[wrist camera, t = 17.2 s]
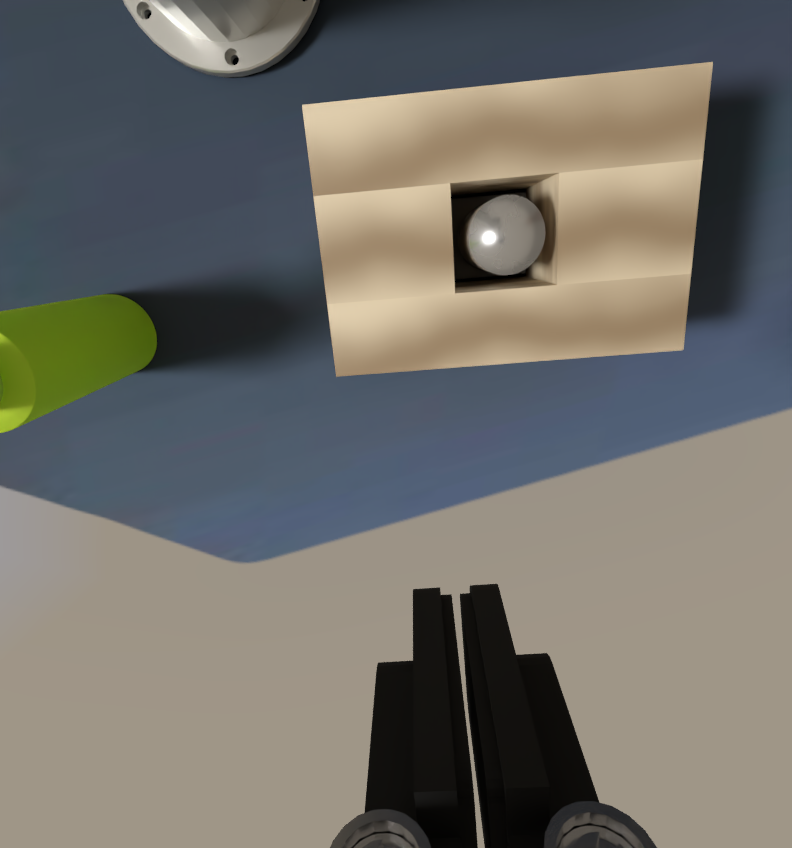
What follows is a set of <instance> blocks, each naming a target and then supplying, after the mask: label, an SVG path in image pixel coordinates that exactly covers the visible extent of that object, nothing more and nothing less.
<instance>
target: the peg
mask: <svg viewBox="0 0 792 848" xmlns="http://www.w3.org/2000/svg"><path fill="white" fill-rule="evenodd" d="M545 233H546V232H545V223H544V220H543V217H542V215H541V212H540V211H539V209H538V208H537V207H536V206H535V205H534V204H533V203H532V202H531V201H529V200H528V199H526V198H524V197H522V196H518V195H502V196H499V197H496V198H494V199H492V200H490V201H488V202H486V203H484V204H483V205H481V206H479V207H477V208H475V209H474V210H472V211H471V212H470V213H469V214H468V215H467V216H466V217H465V218H464V220H463V221H462V223H461V225H460V228H459V231H458V246H459V250H460V252H461V254H462V256H463V257H464V259H465V260H466V261H467V262H468V263H469V264H471V265H472V266H474V267H477V268H479V269H482V270H485V271H488V272H491V273H494V274H497V275H512V274H516V273H519V272H521V271H523V270H524V269H526V268H528V267H529V266H530V265H531V264H532V263H533V262H534V261H535V260H536V259H537V257H538V256H539V254H540V252H541V250H542V248H543V245H544V241H545Z"/></svg>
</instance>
